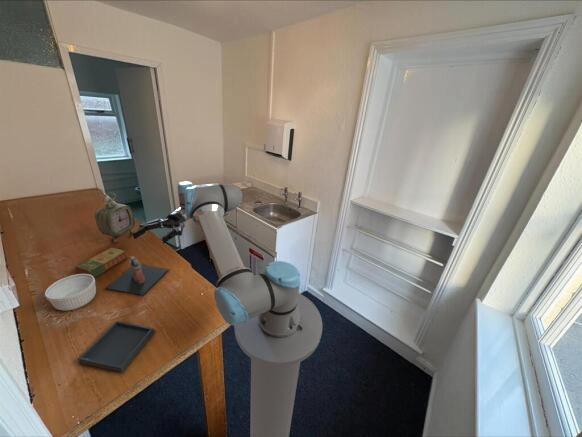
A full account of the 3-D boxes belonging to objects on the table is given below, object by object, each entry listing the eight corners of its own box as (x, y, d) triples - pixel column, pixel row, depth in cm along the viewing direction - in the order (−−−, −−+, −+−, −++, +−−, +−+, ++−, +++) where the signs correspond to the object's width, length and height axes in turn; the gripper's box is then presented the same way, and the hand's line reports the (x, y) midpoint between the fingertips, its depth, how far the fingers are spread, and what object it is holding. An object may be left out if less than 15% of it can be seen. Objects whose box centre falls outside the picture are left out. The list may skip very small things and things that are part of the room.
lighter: (131, 275, 99) (125, 255, 94) (140, 271, 101) (135, 252, 97) (137, 284, 94) (132, 264, 90) (146, 281, 96) (141, 261, 92)
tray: (154, 332, 76) (153, 327, 75) (122, 372, 64) (120, 368, 64) (117, 324, 78) (116, 320, 77) (80, 363, 66) (77, 358, 65)
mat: (168, 270, 104) (168, 269, 104) (142, 295, 90) (142, 294, 90) (135, 264, 106) (135, 264, 105) (105, 288, 91) (105, 288, 91)
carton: (127, 258, 109) (125, 250, 108) (91, 279, 95) (88, 271, 94) (113, 254, 111) (111, 246, 110) (76, 274, 97) (73, 265, 96)
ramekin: (78, 284, 92) (73, 270, 89) (108, 290, 91) (103, 276, 88) (41, 310, 80) (33, 295, 77) (74, 317, 79) (67, 302, 76)
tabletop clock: (115, 245, 118) (101, 199, 107) (100, 242, 119) (85, 196, 109) (137, 232, 131) (127, 190, 120) (123, 229, 132) (112, 187, 122)
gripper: (201, 227, 118) (177, 249, 99) (156, 221, 121) (124, 241, 102) (200, 214, 115) (174, 234, 96) (153, 208, 118) (120, 226, 99)
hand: (148, 238), depth 99 cm, fingers open, 13 cm apart
